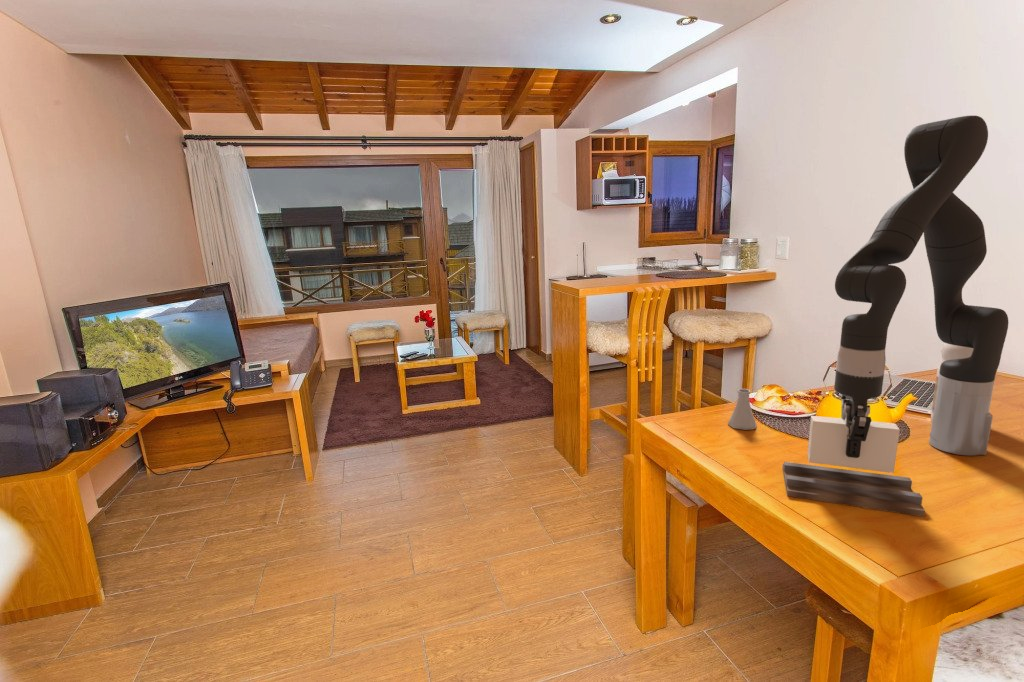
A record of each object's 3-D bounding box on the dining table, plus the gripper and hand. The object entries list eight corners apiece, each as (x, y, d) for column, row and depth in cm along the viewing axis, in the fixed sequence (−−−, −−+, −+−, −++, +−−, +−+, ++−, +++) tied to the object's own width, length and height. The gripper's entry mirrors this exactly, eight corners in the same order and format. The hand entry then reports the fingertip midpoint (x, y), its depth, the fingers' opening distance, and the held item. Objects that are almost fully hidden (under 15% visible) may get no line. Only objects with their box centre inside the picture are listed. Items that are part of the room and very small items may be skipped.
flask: (760, 431, 129) (762, 395, 127) (730, 430, 130) (732, 394, 128) (752, 420, 136) (755, 386, 134) (725, 420, 137) (726, 385, 135)
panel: (889, 466, 97) (895, 423, 95) (893, 473, 94) (899, 429, 92) (807, 456, 103) (811, 415, 101) (809, 462, 100) (813, 421, 98)
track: (904, 484, 100) (906, 472, 100) (924, 516, 90) (926, 503, 89) (782, 468, 109) (783, 457, 109) (787, 495, 99) (788, 483, 98)
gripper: (894, 382, 86) (882, 472, 90) (874, 361, 99) (865, 440, 102) (843, 378, 89) (834, 465, 93) (830, 358, 102) (822, 436, 106)
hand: (850, 452), depth 98 cm, fingers closed on panel, 3 cm apart
